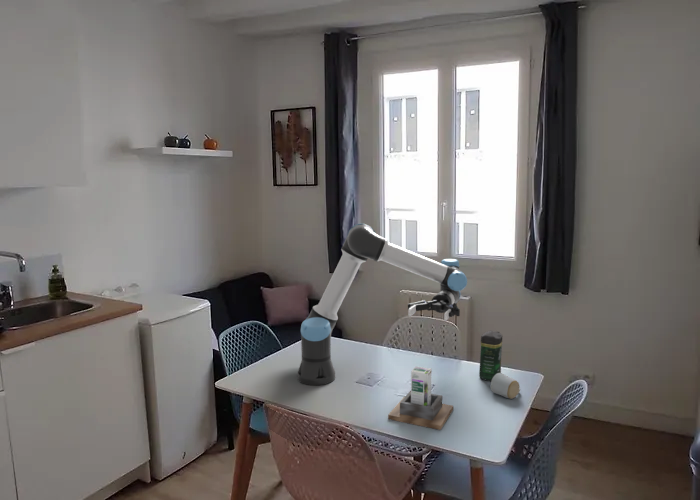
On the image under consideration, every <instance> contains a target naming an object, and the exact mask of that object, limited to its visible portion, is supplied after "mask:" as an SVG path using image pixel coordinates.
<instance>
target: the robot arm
mask: <svg viewBox="0 0 700 500" xmlns="http://www.w3.org/2000/svg"><path fill="white" fill-rule="evenodd" d="M340 250H341V252H342V255H341V257H340V259H339V261H338V263H337V264H336V265H337V266H336V268H335V269H334V272H333V274H332V275H331V277H330V280H329V282H328V284H327V286H326V288H325V290H324V292H323V294H322V296H321V298H320V300H319V302H318V304H316V305H313V306H312V309H311V310H310V313H309V314H308V316H307V317H306V319H305V320H303V321H302V323H301V326H300V339H301V342H300V343H301V344H300V345H301V348H300V349H301V361H300V364H299V367H298V371H297V381H298V382H300V383H301V384H303V385H308V386H321V385H326V384H329V383H332V382H333V381H335V379H336V371H335V367H334V364H333V362H332V356H331V349H332V348H331V345H332V344H331V338H332V333H333V329H334V328H335V326H336V323H337V322H338V319H339V317H338V312H339V309H340V308H341V305H342V303H343V301H344V299H345V297H346V295H347V293H348V291H349V289H350V287H351V286H352V283H353V281H354V279H355V277H356V275H357V272H358V271H359V268H360V267H361V264H363V263H366V262H367V261H368V259H369V260H372V261H374V262H380V261H382V262H384V263H387V264H390V265H392V266H394V267H397V268H400V269H402V270H405V271H408V272H410V273H412V274H415V275H418V276H420V277H422V278H426V279H428V280H430V281H433V282H435V283H438V284H439V285H440V286H439V288H440V289H439V290H440V291H439V292H438V293H437V294H436V295H434V296H433V297H432V299H431V300H428V301H426V299H422V300H419V301H416V302H410V303H407V311H408V314H407V317H412V316H413V315H414V314H415V313H416V312H419V311H420V312H421V311H428V312H429V311H434V312H437V313H440V314H443V321H448V320H449V319H450V318H452V317H455V316H456V317H460V315H461V314H460V313H461V311H460V308H459V307H458V305H457V303H458V302H459V300H460V298H461V294H462V293H461V291H463V290H464V289H465V288H466V287H467V285H468V278H467V276H466V274H465V273H464V272H463V271H462V270H460V262H459V260H458V259H457V258H456V259H455V258H444V259H442V260H441V262H438V261H436V260H433V259H431V258H428V257H425V256H423V255H421V254H419V253H415V252H413V251H411V250H408V249H406V248H403V247H401V246H399V245H396V244H394V243H390V242H389V241H388V240H387V238H385V237H382V236H381V235H379V234H377V233H376V231H375V229H373V227H372V226H370V225H368V224H365V223H357V224H355V225H353V226H352V227H350V229H349V230H348V232H347V236H346V238H345V240H344V243H343V245H342V247H341V249H340Z"/></svg>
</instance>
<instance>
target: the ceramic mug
mask: <svg viewBox="0 0 700 500" xmlns="http://www.w3.org/2000/svg"><path fill="white" fill-rule="evenodd" d="M490 390H491V392H492V393H495V394H496V395H498V396H501V397H504V398H506V399H511V400H512V399H515V398H516V397H517V396H518V395H519V394H520V392H521V387H520V383H519V382H518V380H516V379H515V378H512V377H510V376H509V375H506V374H504V373H503V372H501V373H497V374H496V375H495V376H494V377H493V379H492V381H490Z"/></svg>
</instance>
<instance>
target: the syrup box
mask: <svg viewBox="0 0 700 500" xmlns="http://www.w3.org/2000/svg"><path fill="white" fill-rule="evenodd" d="M432 372H433V371H432V368H429V367H424V366H423V367H421V366H415V367H413V369H412V370H411V372H410V377H411V378H410V391H411V403H413V404H418V405H424V406H429V407H431V394H432Z"/></svg>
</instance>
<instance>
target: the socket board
mask: <svg viewBox="0 0 700 500" xmlns="http://www.w3.org/2000/svg"><path fill="white" fill-rule="evenodd" d="M453 411H454V405H452V404H446V403H443V395H441V394H437V393H431V407H429V406H424V405H418V404H413V403H411V390H409V392H408V393H406V395H404V396H403V397H402V398H401V400H399V402H398V403H397V404H396V405H395V406H394V407H393V409H392V410H391V411H390V412H389V413H388V416H387V419H388V420H390V419H391V421H396V422H401V423H405V424H411V425H415V426H419V427H420V426H421V427H425V428H428V429H429V428H430V429H434V430H439V431H440V430H442V428H443V427H444V426H445V424H446V422H447V421H448V419H449V418H450V415H452V413H453Z"/></svg>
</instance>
